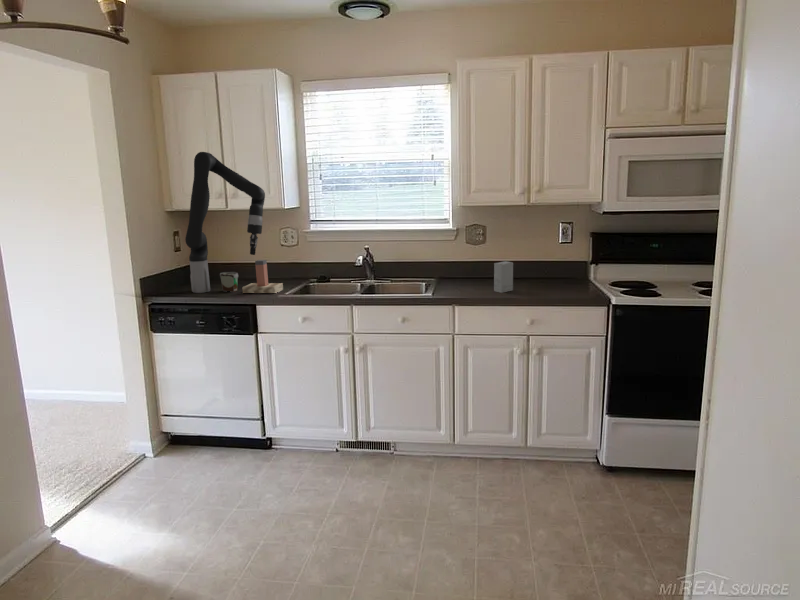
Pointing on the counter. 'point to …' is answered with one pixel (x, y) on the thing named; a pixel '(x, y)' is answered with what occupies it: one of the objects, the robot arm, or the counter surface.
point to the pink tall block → (261, 272)
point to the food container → (229, 281)
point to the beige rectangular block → (263, 288)
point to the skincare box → (503, 276)
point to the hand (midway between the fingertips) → (252, 254)
